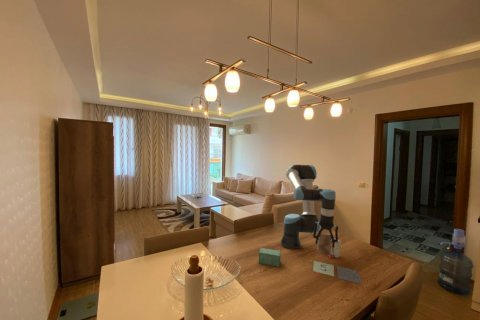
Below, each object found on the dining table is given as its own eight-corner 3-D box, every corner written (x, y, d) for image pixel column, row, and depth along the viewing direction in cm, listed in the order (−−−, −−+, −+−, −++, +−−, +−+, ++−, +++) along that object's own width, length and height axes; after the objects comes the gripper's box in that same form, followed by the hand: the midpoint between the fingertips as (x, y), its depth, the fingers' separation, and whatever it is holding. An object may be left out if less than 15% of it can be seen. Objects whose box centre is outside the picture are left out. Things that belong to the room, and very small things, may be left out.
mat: (338, 278, 123) (338, 278, 123) (336, 266, 136) (336, 266, 136) (361, 284, 118) (361, 283, 118) (358, 271, 131) (358, 271, 131)
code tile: (312, 271, 129) (312, 270, 129) (313, 261, 141) (313, 260, 141) (334, 276, 125) (334, 276, 125) (333, 265, 137) (333, 265, 137)
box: (279, 267, 132) (280, 255, 132) (258, 263, 135) (258, 252, 135) (280, 261, 139) (280, 250, 139) (259, 258, 142) (260, 247, 142)
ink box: (330, 258, 146) (331, 241, 145) (325, 255, 150) (326, 238, 150) (340, 257, 148) (341, 240, 148) (335, 253, 153) (336, 237, 152)
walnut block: (318, 252, 131) (319, 237, 130) (318, 247, 138) (319, 233, 137) (330, 255, 128) (331, 239, 128) (330, 250, 135) (331, 235, 134)
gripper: (309, 213, 131) (307, 249, 133) (345, 219, 124) (342, 257, 126) (310, 210, 138) (308, 244, 140) (344, 215, 131) (341, 251, 133)
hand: (324, 250), depth 133 cm, fingers closed on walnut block, 7 cm apart
